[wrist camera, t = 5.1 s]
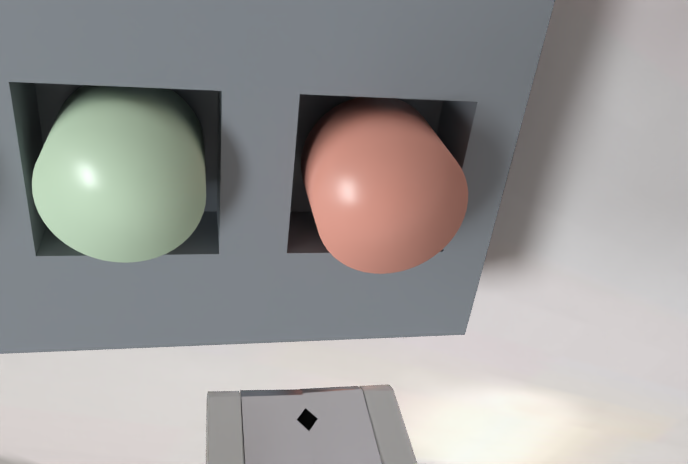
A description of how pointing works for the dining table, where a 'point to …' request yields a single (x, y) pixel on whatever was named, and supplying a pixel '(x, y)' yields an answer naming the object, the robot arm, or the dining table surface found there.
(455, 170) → the brick button
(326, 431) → the robot arm
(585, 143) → the dining table surface
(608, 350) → the dining table surface
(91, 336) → the button panel
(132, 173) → the sage button
